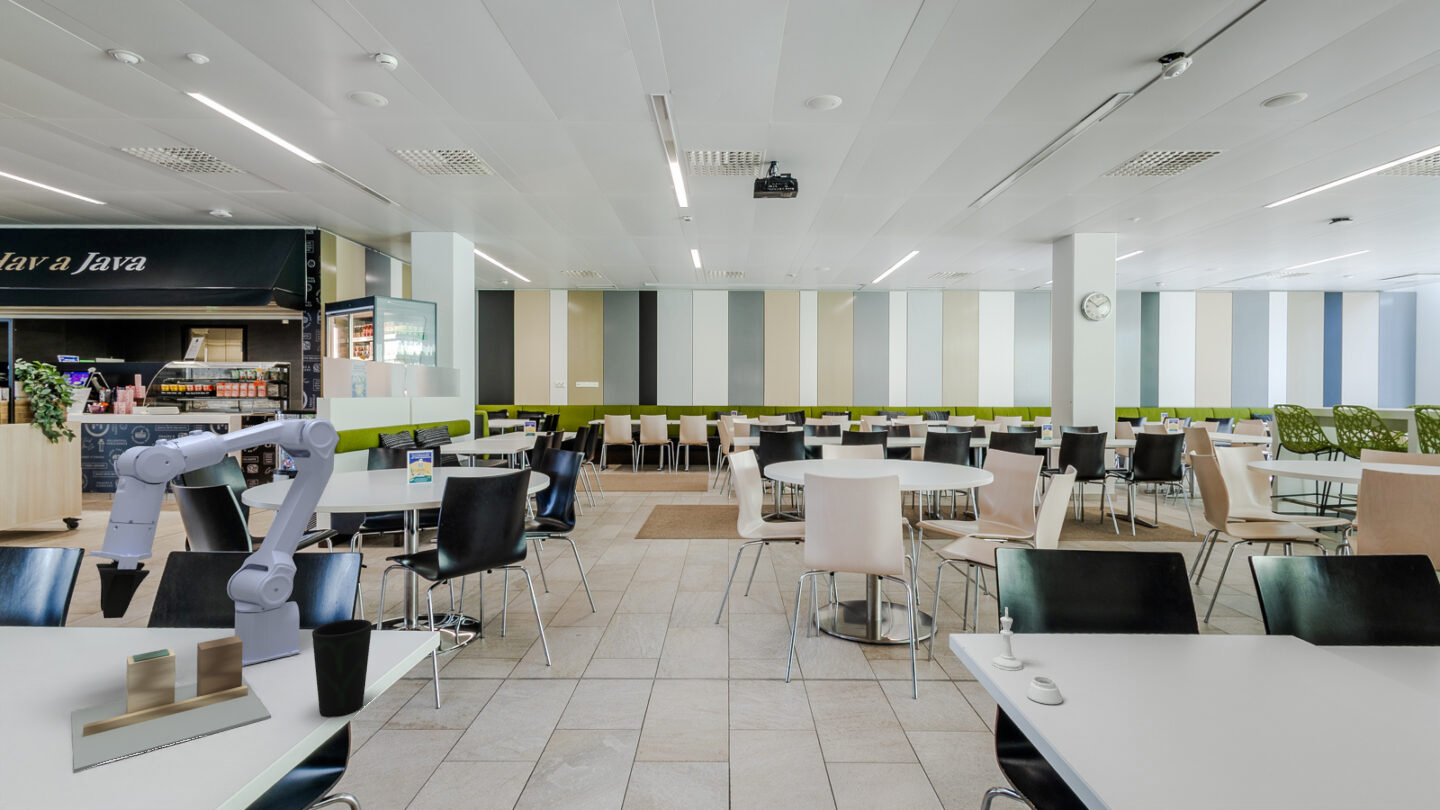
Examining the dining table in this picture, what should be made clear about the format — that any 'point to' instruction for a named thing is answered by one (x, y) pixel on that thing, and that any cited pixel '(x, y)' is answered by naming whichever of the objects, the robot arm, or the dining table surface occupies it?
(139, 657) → the beech block
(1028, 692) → the white jar
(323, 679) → the cup
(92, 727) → the oak rail
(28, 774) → the dining table surface
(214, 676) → the walnut block
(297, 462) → the robot arm
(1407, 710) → the dining table surface
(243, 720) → the grey mat
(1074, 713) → the dining table surface
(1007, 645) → the chess piece
